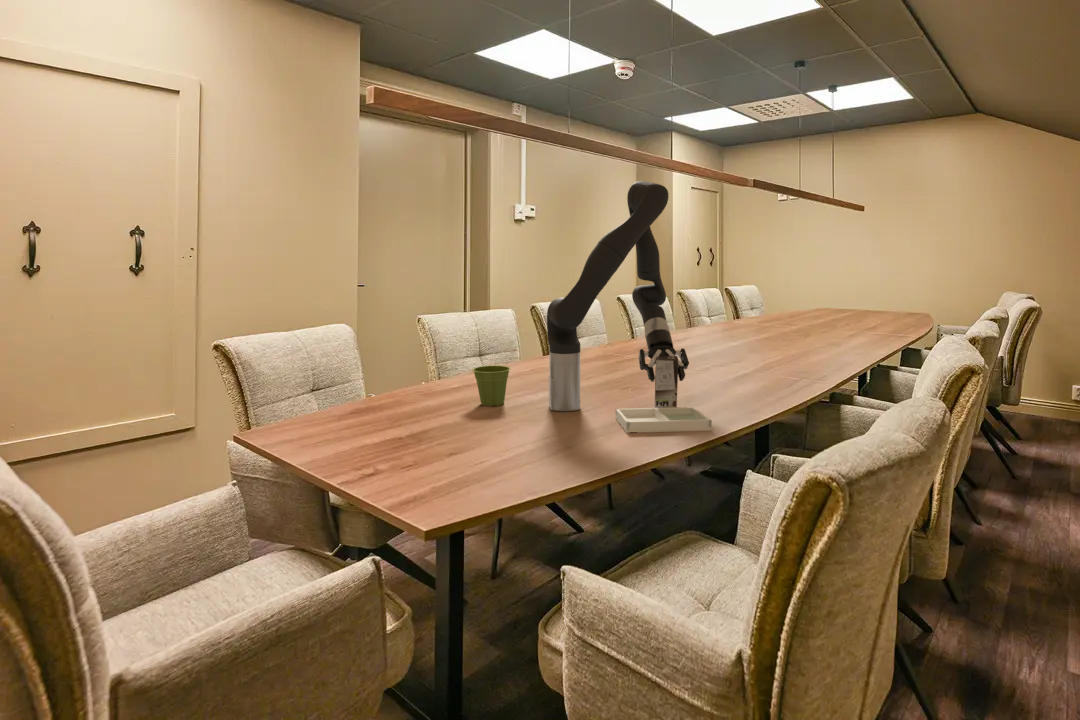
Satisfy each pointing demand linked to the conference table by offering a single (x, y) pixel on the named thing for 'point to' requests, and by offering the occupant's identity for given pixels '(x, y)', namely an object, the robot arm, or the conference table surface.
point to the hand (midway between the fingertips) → (667, 379)
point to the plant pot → (491, 384)
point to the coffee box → (666, 381)
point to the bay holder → (663, 419)
